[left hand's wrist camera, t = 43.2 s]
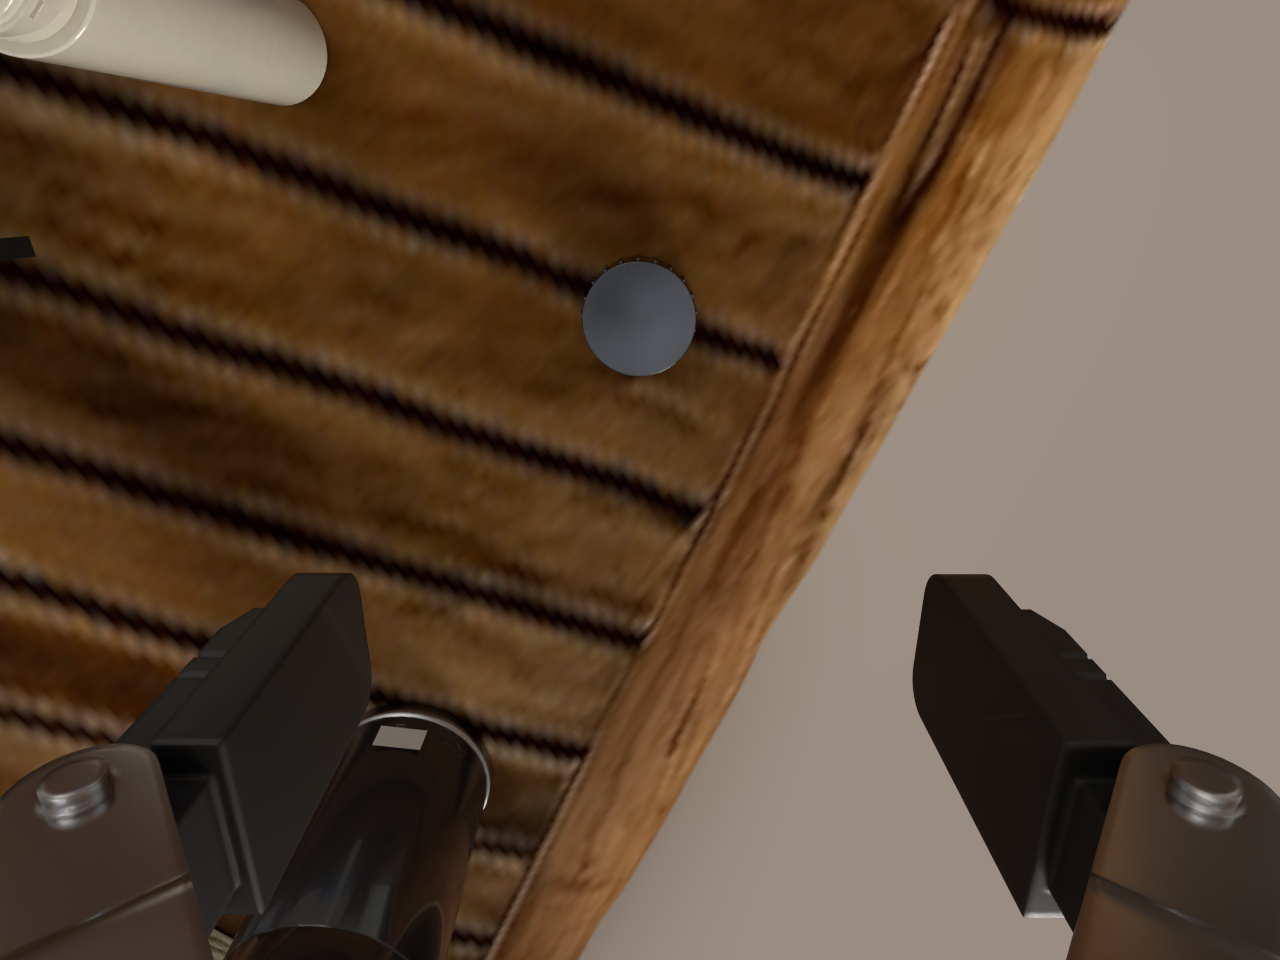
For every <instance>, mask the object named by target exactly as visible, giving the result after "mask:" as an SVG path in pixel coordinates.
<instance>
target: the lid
mask: <svg viewBox="0 0 1280 960" xmlns="http://www.w3.org/2000/svg"><path fill="white" fill-rule="evenodd" d="M693 297H694V296H693V293H692V291H691V290H689V289H688V286H687V285H686V283H685V279H684V277H683V275H682V276H680V275H679V273H678V272H676V271H675V270H674V269H673V268H672V265H671V264H669V265H668V264H666V263H664V262H662V261H660V260H657V259H656V257H654V258H650V257H643V256H639V255H637V256H635V257H628V258H624V259H623V258H622V257H621V258H620V260H618V261H616V262H614V263H612V264H611V265H609V266H607V265H606V266H605V268H604V270H603V271H602V272H601V273H600V274H599V275H598V276H597V277H594V278H593V281H592V285H591V287H590V289H589V291H588V292H586V294H585V296H584V299H585V302H584V305H583V310H582V312H581V316H582V327H583V334H584V336H585V339H586V342H587V344H588V346H589V348H590V349H591V351H592V352H593V354H594V355H595V356H596V357H597V358H598V359H599V360H600V361H601V362H602V363H603V364H604V365H606V366H607V367H609V368H610V369H612V370H614V371H616V372H619V373H622V374H625V375H630V376H648V375H653V374H657V373H660V372H662V371H664V370H666V369H668V368H669V367H671V366H673V365H674V364H675V363H676V362H677V361H679V359H680V358H681V357H682V356H683V355H684V354H685V352H686V351H687V350H688V348H689V347H690V344H691V342H692V339H693V337H694V333H695V332H696V314H697V310H696V308H695V305H694V301H693Z"/></svg>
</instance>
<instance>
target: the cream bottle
mask: <svg viewBox="0 0 1280 960" xmlns="http://www.w3.org/2000/svg"><path fill="white" fill-rule="evenodd" d="M0 53H3V54H6V55H9V56H13V57H18V58H23V59H29V60H34V61H40V62H45V63H51V64H56V65H61V66H67V67H72V68H78V69H83V70H89V71H94V72H99V73H105V74H110V75H116V76H121V77H127V78H132V79H138V80H143V81H148V82H154V83H159V84H165V85H170V86H176V87H181V88H186V89H192V90H197V91H203V92H208V93H214V94H219V95H224V96H230V97H235V98H241V99H246V100H252V101H257V102H262V103H268V104H273V105H282V106H285V105H293V104H297V103H299V102H302V101H303V100H305V99H307V98H308V97H309V96H311V95H312V94H313V93H314V92H315V91H316V89H317V88H318V87H319V85H320V84H321V82H322V79H323V77H324V74H325V71H326V65H327V47H326V42H325V38H324V35H323V32H322V30H321V27H320V25H319V23H318V21H317V20H316V18H315V17H314V15H313V14H312V12H311V11H310V10H309V9H308V8H307V7H306V6H305V5H304V4H303V3H302V2H301V1H300V0H0Z"/></svg>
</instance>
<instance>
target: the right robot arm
mask: <svg viewBox="0 0 1280 960" xmlns="http://www.w3.org/2000/svg"><path fill="white" fill-rule="evenodd" d="M34 256H36V255H35V253H34V250H33V247H32V244H31V242H30V239H29V236H26V237H14V238H2V239H0V260H9V259H17V258H26V257H34Z"/></svg>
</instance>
